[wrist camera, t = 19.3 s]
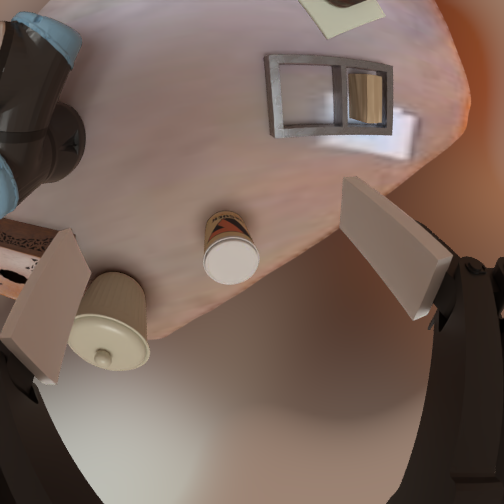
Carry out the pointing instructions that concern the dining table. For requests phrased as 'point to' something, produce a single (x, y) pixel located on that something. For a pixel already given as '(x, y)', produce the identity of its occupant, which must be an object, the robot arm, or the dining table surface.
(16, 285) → the tissue box cover
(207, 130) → the dining table surface
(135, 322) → the canister
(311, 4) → the mat
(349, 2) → the dark brown tall cylinder
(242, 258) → the coffee cup
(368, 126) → the offcut rack
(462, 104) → the dining table surface
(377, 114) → the offcut stack
